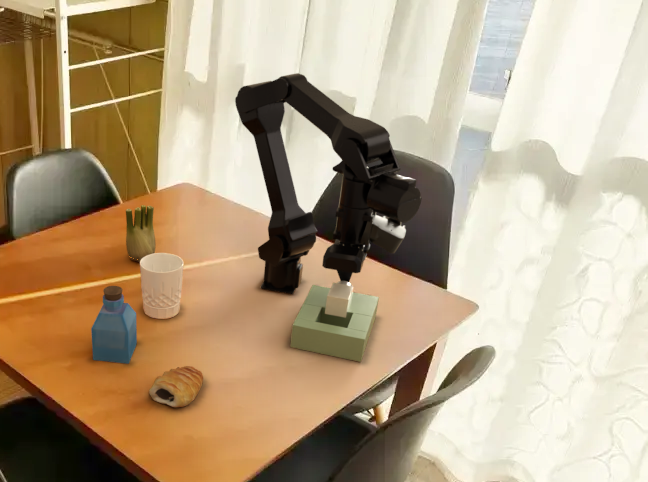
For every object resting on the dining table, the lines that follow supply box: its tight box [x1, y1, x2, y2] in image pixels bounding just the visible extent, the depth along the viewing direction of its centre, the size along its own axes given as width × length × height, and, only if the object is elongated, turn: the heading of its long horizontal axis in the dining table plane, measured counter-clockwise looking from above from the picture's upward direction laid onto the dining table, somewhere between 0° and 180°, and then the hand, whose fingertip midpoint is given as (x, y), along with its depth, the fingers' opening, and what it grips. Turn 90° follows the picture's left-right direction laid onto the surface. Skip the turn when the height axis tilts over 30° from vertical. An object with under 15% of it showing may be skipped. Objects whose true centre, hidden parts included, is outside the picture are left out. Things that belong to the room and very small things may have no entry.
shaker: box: [325, 280, 354, 318], centre depth 130 cm, size 7×4×4 cm, turn 157°
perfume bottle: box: [90, 285, 138, 365], centre depth 124 cm, size 6×6×12 cm
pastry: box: [148, 365, 204, 408], centre depth 117 cm, size 9×7×4 cm
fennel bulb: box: [125, 204, 157, 263], centre depth 154 cm, size 6×5×12 cm
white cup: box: [139, 252, 185, 320], centre depth 137 cm, size 8×8×10 cm
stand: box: [289, 284, 380, 363], centre depth 131 cm, size 12×15×4 cm
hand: (345, 284), depth 133 cm, fingers closed
